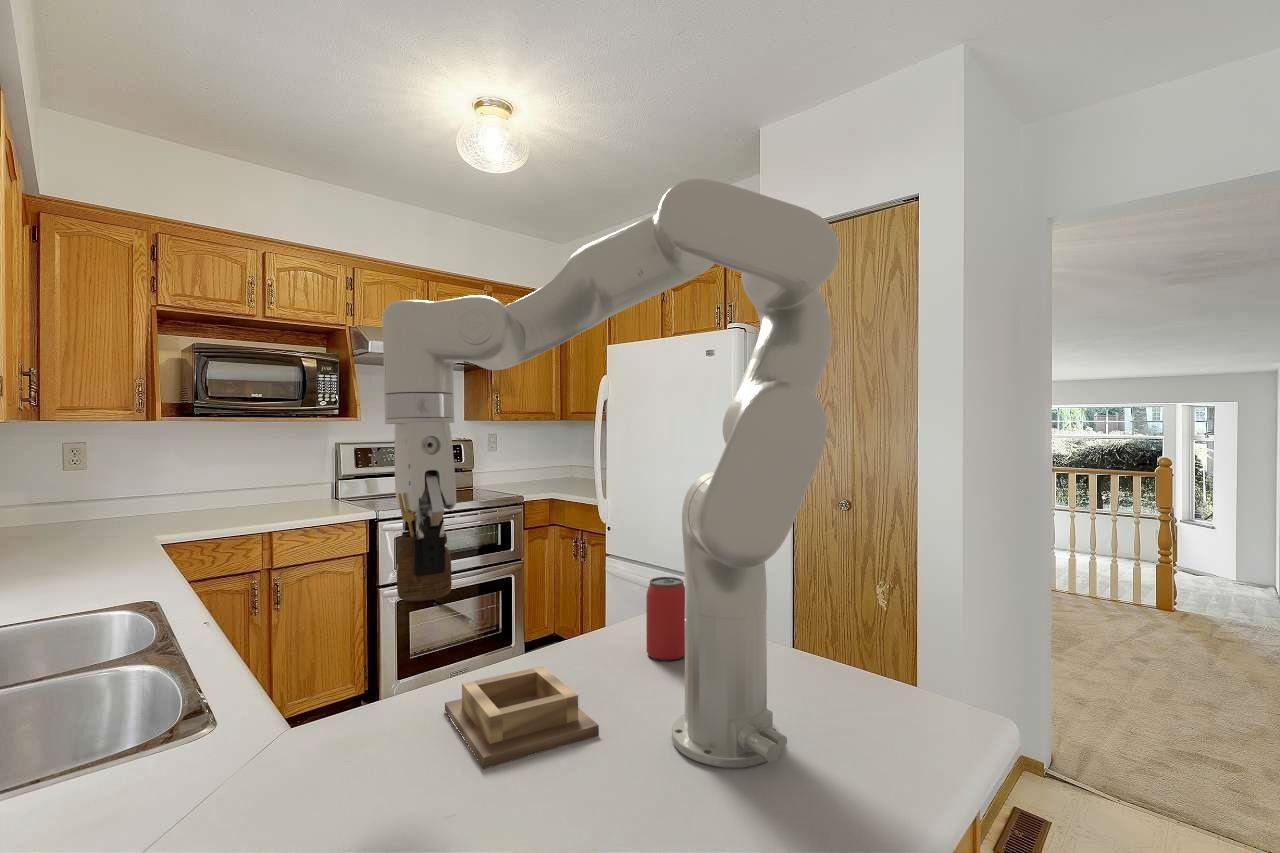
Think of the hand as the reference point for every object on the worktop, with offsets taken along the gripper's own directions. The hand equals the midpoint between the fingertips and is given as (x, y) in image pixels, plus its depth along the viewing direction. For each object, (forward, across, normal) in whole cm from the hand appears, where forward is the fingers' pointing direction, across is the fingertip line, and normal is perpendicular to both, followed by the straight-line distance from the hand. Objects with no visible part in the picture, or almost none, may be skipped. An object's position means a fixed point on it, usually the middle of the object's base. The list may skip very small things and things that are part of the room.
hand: (423, 567), depth 72 cm
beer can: (+22, +10, -40) cm, 47 cm away
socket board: (+21, 0, -11) cm, 24 cm away
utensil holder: (+3, 0, 0) cm, 3 cm away
